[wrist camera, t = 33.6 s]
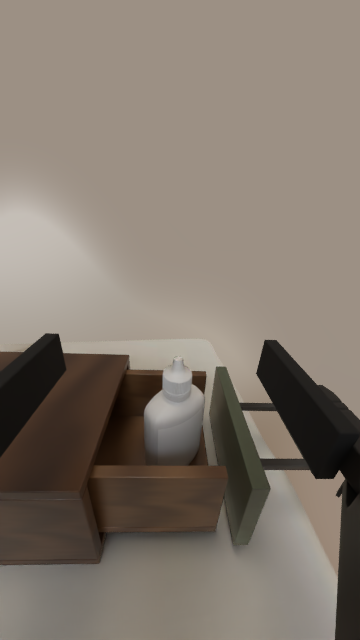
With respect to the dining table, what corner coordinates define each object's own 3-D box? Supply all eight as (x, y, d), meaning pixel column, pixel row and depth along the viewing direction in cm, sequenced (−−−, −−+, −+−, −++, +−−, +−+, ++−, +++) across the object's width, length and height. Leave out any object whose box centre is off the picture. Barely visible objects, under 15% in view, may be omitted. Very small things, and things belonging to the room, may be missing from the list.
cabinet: (133, 414, 28) (129, 354, 24) (99, 564, 15) (79, 492, 11) (15, 412, 27) (-9, 351, 23) (-120, 567, 15) (-221, 492, 11)
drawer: (266, 414, 28) (281, 367, 24) (330, 544, 16) (373, 488, 13) (108, 412, 27) (101, 363, 24) (59, 547, 15) (34, 488, 12)
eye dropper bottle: (204, 476, 19) (221, 375, 14) (144, 483, 19) (140, 379, 14) (195, 434, 23) (206, 343, 18) (145, 438, 22) (143, 344, 18)
